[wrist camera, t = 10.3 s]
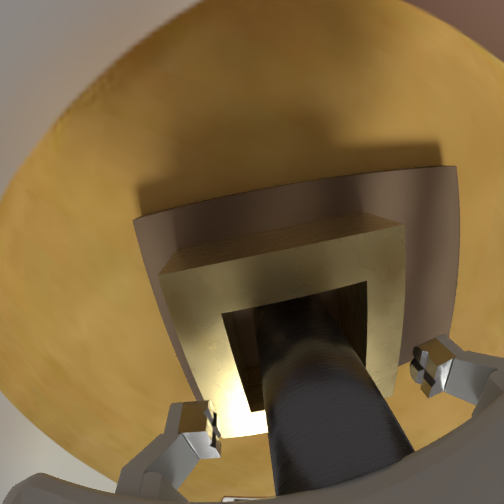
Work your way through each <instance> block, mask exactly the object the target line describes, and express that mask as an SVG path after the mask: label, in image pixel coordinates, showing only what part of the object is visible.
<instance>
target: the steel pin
mask: <svg viewBox="0 0 504 504" xmlns="http://www.w3.org/2000/svg"><path fill="white" fill-rule="evenodd" d="M254 325H255V333H256V341H257V350H258V358H259V366H260V374H261V383H262V391H263V399H264V407H265V415H266V423H267V431H268V439H269V446H270V454H271V462H272V470H273V477H274V485H275V493H276V496H282V495H287V494H293V493H298V492H302V491H308V490H315V489H319V488H323V487H327V486H331V485H334V484H338V483H341V482H345V481H348V480H351V479H354V478H357V477H360V476H363V475H366V474H368V473H371V472H374V471H376V470H379V469H382V468H384V467H386V466H389V465H391V464H394V463H396V462H398V461H400V460H402V459H403V458H404V457H405V456H407V455H409V454H411V453H413V452H415V451H414V449H413V447H412V445H411V443H410V442H409V440H408V438H407V436H406V435H405V433H404V431H403V429H402V428H401V426H400V424H399V423H398V421H397V419H396V417H395V416H394V414H393V412H392V411H391V409H390V407H389V406H388V404H387V402H386V401H385V399H384V397H383V396H382V394H381V392H380V391H379V389H378V387H377V386H376V384H375V382H374V381H373V379H372V378H371V376H370V374H369V373H368V371H367V369H366V368H365V366H364V365H363V363H362V361H361V360H360V358H359V357H358V355H357V353H356V352H355V350H354V349H353V347H352V346H351V344H350V342H349V341H348V339H347V338H346V336H345V335H344V333H343V331H342V330H341V328H340V327H339V325H338V324H337V322H336V321H335V319H334V318H333V316H332V314H331V313H330V311H329V310H328V308H327V307H326V305H325V304H324V302H323V301H322V299H321V298H320V296H319V295H318V294H317V293H316V294H312V295H307V296H303V297H299V298H294V299H290V300H286V301H281V302H276V303H272V304H267V305H262V306H257V307H255V311H254Z"/></svg>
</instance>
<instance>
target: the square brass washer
mask: <svg viewBox="0 0 504 504" xmlns="http://www.w3.org/2000/svg"><path fill="white" fill-rule="evenodd" d="M405 274H406V253H405V225H404V224H401V223H398V222H395V221H392V220H389V219H386V218H382V217H379V216H376V215H372V214H369V213H366V212H360V213H354V214H349V215H343V216H338V217H332V218H327V219H322V220H317V221H311V222H306V223H301V224H296V225H291V226H286V227H281V228H275V229H270V230H265V231H260V232H256V233H251V234H246V235H241V236H236V237H231V238H226V239H222V240H217V241H212V242H207V243H203V244H198V245H193V246H189V247H184V248H179V249H177V250H176V251H175V253H174V254H173V255H172V257H171V258H170V259H169V260H168V262H167V263H166V264H165V266H164V267H163V269H162V270H161V271H160V273H159V274H158V275H157V276H158V280H159V283H160V286H161V289H162V292H163V295H164V298H165V301H166V304H167V307H168V310H169V313H170V316H171V319H172V322H173V325H174V327H175V330H176V333H177V335H178V338H179V341H180V343H181V346H182V349H183V351H184V354H185V356H186V359H187V361H188V364H189V366H190V369H191V371H192V373H193V376H194V378H195V381H196V383H197V385H198V388H199V390H200V392H201V394H202V397H203V399H204V401H206V400H210V401H211V402H212V404H213V406H214V412H215V413H217V415H218V417H219V420H220V425H221V436H222V438H230V437H238V436H246V435H253V434H259V433H265V432H268V431H267V423H266V415H265V407H264V399H263V391H262V383H261V374H260V366H259V364H255V365H250V366H246V362H245V358H244V355H243V351H242V347H241V343H240V340H239V336H238V332H237V328H236V324H235V321H234V317H233V313H232V311H237V310H242V309H247V308H252V307H257V306H262V305H267V304H272V303H276V302H281V301H286V300H290V299H294V298H299V297H303V296H307V295H312V294H316V293H320V292H324V291H328V290H332V289H336V288H337V292H338V306H339V325H340V328H341V330H342V331H343V333H344V335H345V336H346V338H347V339H348V341H349V342H350V344H351V346H352V347H353V349H354V350H355V352H356V353H357V355H358V357H359V358H360V360H361V361H362V363H363V365H364V366H365V368H366V369H367V371H368V373H369V374H370V376H371V378H372V379H373V381H374V382H375V384H376V386H377V387H378V389H379V391H380V392H381V394H382V396H383V397H384V399H385V398H387V397H390V396H392V395H393V391H394V386H395V380H396V374H397V368H398V362H399V355H400V347H401V338H402V329H403V317H404V302H405Z"/></svg>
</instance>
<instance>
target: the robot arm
mask: <svg viewBox="0 0 504 504" xmlns="http://www.w3.org/2000/svg"><path fill="white" fill-rule="evenodd" d="M412 355H413V356H414V358H413V360H412V361H411V363H410V373H411V376H412V379H413V380H414V381H415V382H416V383H419V384H421V390H422V391H423V393H424V394H425V395H426V396H427V398H430V397H432V396H434V395H436V394H438V393H440V392H442V391H444V392H446V393H448V394H451V395H453V396H455V397H458V398H460V399H462V400H465V401H467V402H469V403H472V404H474V405H476V407H475V409H474V411H473V413H472V418H471V419H469V420H468V421H466V422H465V423H463V424H462V425H460V426H459V427H457V428H456V429H454V430H452V431H451V432H449V433H448V434H446V435H444V436H443V437H441V438H439V439H438V440H436V441H434V442H432V443H430V444H429V445H427V446H425V447H423V448H421V449H419V450H417V451H415V452H413V453H411V454H409V455H407V456H405V457H404V458H403V459H402V460H400V461H398V462H396V463H394V464H391V465H389V466H386V467H384V468H382V469H379V470H376V471H374V472H371V473H368V474H366V475H363V476H360V477H357V478H354V479H351V480H348V481H345V482H341V483H338V484H334V485H331V486H327V487H323V488H319V489H315V490H308V491H302V492H298V493H293V494H287V495H282V496H275V497H269V498H261V499H253V500H242V501H228V502H188V500H187V499H186V498H185V497H183V496H182V495H181V494H180V493H179V492H178V491H177V489H178V488H179V487H180V486H181V484H182V483H183V482H184V480H185V479H186V478H187V476H188V475H189V474H190V472H191V471H192V470H193V468H194V467H195V466H196V464H197V463H198V461H199V459H207V458H219V457H221V443H220V441H219V439H218V438H219V437H220V436H221V425H220V420H219V417H218V415H217V413H215V412H214V406H213V404H212V402H211V401H210V400H206V401H193V402H180V403H172V404H171V405H170V409H169V413H168V417H167V422H166V426H165V431H164V434H160V435H159V436H158V437H156V438H155V439H154V440H153V441H152V442H151V443H150V444H149V445H148V446H147V447H146V448H144V449H143V450H142V451H141V452H140V453H139V454H138V455H137V456H135V457H134V458H133V459H132V460H131V461H130V462H129V463H127V464H126V465H125V466H124V467H123V468H122V470H121V474H120V477H119V481H118V484H117V488H116V492H115V494H114V493H109V492H105V491H100V490H96V489H92V488H88V487H85V486H81V485H78V484H74V483H71V482H68V481H65V480H62V479H59V478H56V477H54V476H51V475H48V474H45V473H37V474H35V475H32V476H30V477H29V478H27V479H25V480H23V481H22V482H20V483H18V484H16V485H15V486H14V487H12V489H11V490H10V491H9V493H8V494H7V496H6V497H5V499H4V501H3V503H2V504H504V358H500V357H495V356H490V355H486V354H481V353H476V352H471V351H466V352H465V351H463V350H462V349H461V348H460V347H459V346H458V345H457V344H455V343H454V342H453V341H452V340H451V339H450V338H448V337H447V336H446V335H444V334H441V335H439V336H437V337H435V338H433V339H430V340H428V341H426V342H424V343H422V344H419V345H417V346H415V347H414V349H413V352H412Z"/></svg>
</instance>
